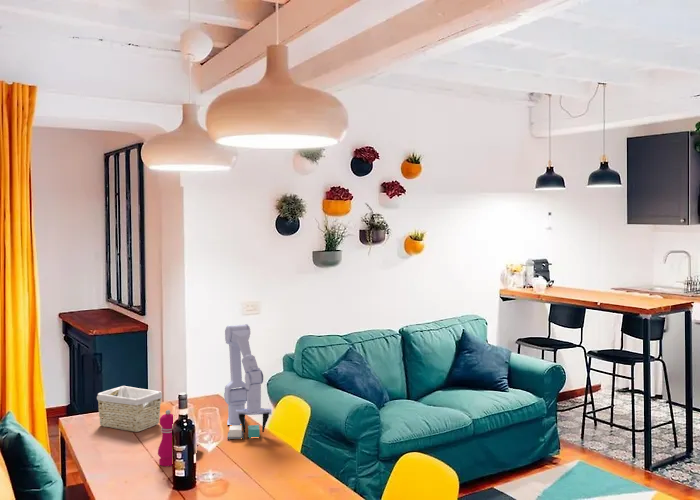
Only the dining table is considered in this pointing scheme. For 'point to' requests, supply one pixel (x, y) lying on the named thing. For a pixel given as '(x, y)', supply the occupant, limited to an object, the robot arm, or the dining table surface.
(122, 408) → the storage basket
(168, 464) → the pepper mill
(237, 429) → the cream brick
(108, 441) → the dining table surface
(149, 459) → the dining table surface
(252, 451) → the dining table surface
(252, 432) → the teal brick
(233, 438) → the baseplate
